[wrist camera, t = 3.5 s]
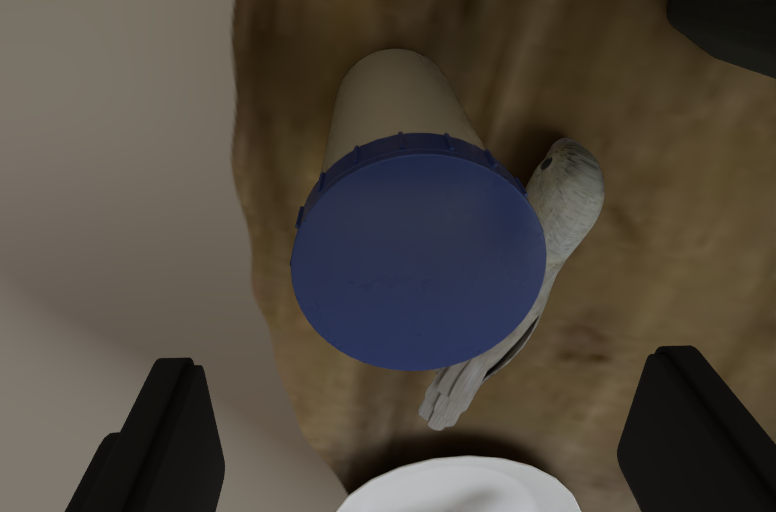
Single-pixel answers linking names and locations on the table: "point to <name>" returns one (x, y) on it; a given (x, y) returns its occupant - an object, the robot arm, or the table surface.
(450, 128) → the jar
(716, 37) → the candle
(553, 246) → the decorative bird
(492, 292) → the lid
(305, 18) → the table surface
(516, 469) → the plate
